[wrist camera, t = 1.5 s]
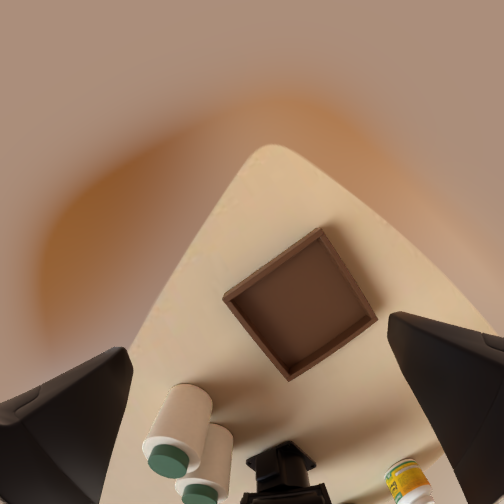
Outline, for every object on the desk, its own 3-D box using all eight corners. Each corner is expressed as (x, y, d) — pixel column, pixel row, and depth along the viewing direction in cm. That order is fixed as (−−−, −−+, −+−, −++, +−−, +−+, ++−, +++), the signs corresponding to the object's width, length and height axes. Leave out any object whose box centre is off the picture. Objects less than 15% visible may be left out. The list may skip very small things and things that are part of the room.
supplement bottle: (414, 469, 28) (437, 508, 19) (383, 484, 28) (402, 525, 19) (415, 452, 28) (442, 493, 18) (382, 467, 28) (404, 512, 18)
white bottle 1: (222, 408, 27) (211, 476, 17) (187, 425, 27) (167, 488, 17) (191, 376, 26) (166, 440, 16) (157, 395, 27) (125, 455, 17)
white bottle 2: (242, 442, 27) (238, 508, 17) (209, 456, 28) (197, 517, 18) (214, 416, 27) (201, 483, 17) (181, 432, 27) (160, 494, 17)
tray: (370, 313, 25) (378, 319, 24) (286, 372, 26) (288, 382, 24) (316, 228, 25) (321, 228, 23) (224, 293, 25) (221, 299, 23)
